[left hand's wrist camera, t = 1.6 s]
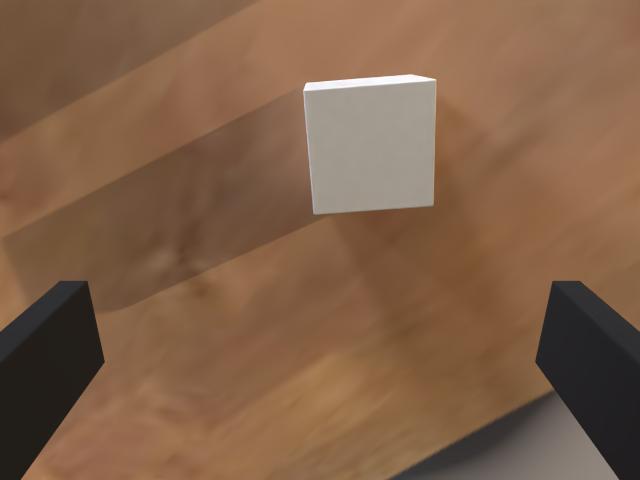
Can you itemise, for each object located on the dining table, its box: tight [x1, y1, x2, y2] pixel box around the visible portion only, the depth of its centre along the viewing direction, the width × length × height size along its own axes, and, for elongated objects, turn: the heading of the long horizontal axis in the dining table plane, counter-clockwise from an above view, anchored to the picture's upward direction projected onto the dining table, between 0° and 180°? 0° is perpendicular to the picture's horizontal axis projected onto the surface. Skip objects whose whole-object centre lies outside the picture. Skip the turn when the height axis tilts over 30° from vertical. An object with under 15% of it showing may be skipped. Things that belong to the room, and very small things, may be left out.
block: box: [303, 75, 436, 215], centre depth 18 cm, size 5×5×4 cm
